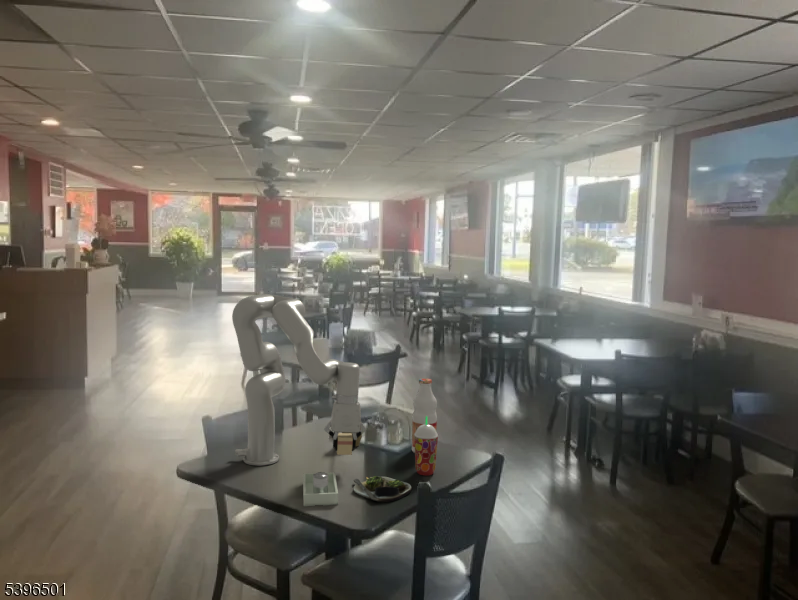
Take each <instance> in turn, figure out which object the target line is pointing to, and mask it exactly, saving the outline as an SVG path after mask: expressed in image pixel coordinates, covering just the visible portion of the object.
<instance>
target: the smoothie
mask: <svg viewBox="0 0 798 600" xmlns="http://www.w3.org/2000/svg"><path fill="white" fill-rule="evenodd" d="M414 441H415V453H414V460H415V462H414V463H415V470H416V473H417V474H418V475H420V476H423V477H424V476H431V475H433V474H434V472H435V471H436V465H437V451H438V441H439V434H438V433H437V432H436V430H435V428H434V427H433V426H431V425H429V424H427V416H426V424H423V425H421V426H419V427H418V429H417V430H416V432H415V433H414Z"/></svg>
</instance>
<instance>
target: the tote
mask: <svg viewBox="0 0 798 600" xmlns="http://www.w3.org/2000/svg"><path fill="white" fill-rule="evenodd" d="M315 473H316V472H312V473H311V472H310V473H309V472H308V473H303V474H302V492H303V495H302V498H303V502H302V503H303V507H316V506H315V505H323V506H338V505H339V490H338V484H337V483H338V482H337V477H336V473H335V472H334V471H333V472H327V473H328V493H314V494H313V474H315Z"/></svg>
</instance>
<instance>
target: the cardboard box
mask: <svg viewBox="0 0 798 600" xmlns="http://www.w3.org/2000/svg"><path fill="white" fill-rule="evenodd" d="M337 439H338V445H337V451H336V454H337V456H339V455H340V456H348V455H349V456H351V455H353V451H352V443H353V437H352V433H342V432H339V433H338V436H337Z"/></svg>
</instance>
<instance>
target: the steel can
mask: <svg viewBox="0 0 798 600" xmlns="http://www.w3.org/2000/svg"><path fill="white" fill-rule="evenodd" d="M314 473H315V474H313V494H314V493H328V473H329V472H324V471H323V472H322V471H320V472H314Z"/></svg>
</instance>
